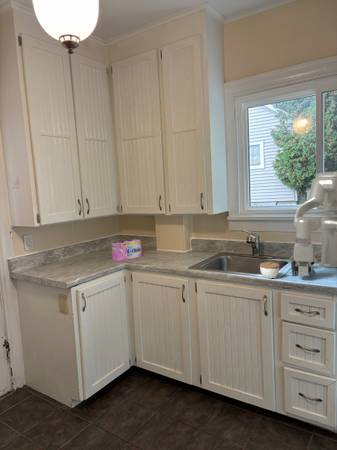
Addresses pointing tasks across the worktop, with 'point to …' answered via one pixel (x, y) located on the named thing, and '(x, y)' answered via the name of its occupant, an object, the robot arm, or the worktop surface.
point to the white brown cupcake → (269, 269)
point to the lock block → (302, 269)
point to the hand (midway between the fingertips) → (303, 272)
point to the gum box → (126, 250)
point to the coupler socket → (295, 268)
